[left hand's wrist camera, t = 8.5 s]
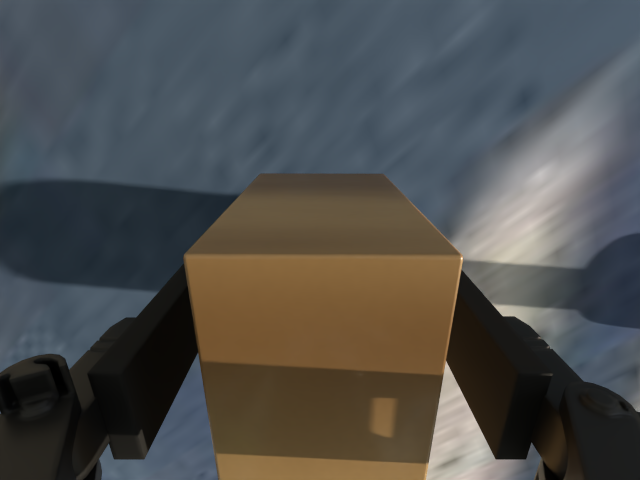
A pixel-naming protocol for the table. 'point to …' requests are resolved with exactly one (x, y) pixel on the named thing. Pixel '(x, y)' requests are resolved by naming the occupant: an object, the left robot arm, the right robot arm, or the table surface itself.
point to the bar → (322, 329)
